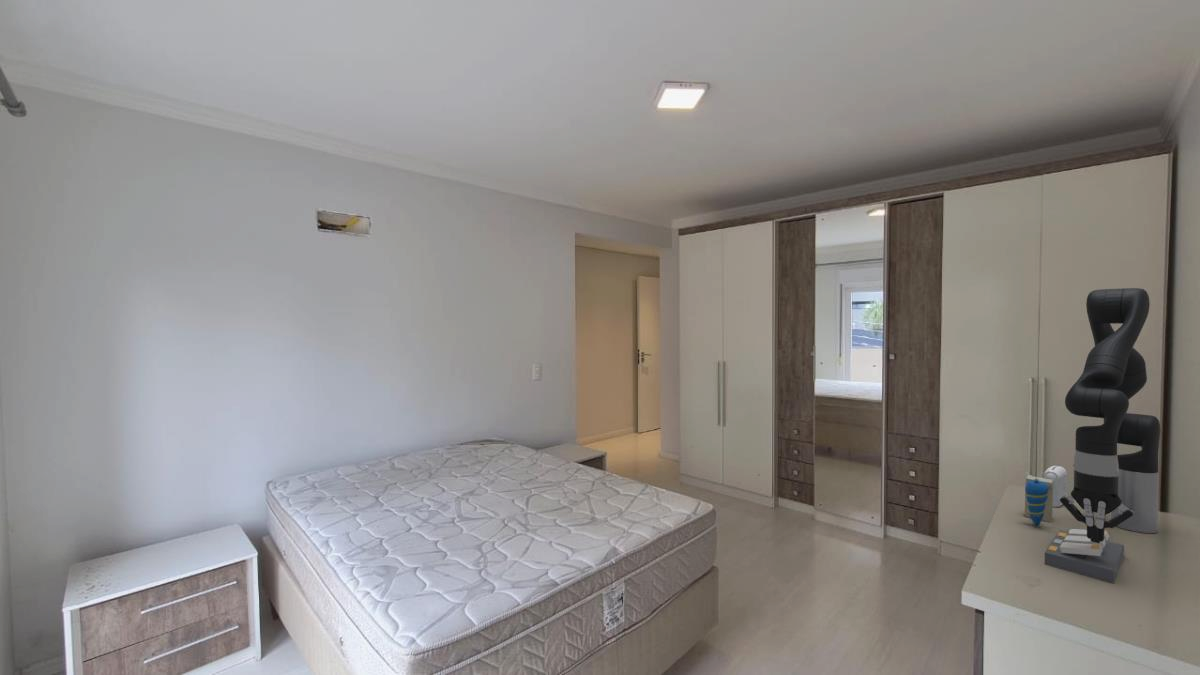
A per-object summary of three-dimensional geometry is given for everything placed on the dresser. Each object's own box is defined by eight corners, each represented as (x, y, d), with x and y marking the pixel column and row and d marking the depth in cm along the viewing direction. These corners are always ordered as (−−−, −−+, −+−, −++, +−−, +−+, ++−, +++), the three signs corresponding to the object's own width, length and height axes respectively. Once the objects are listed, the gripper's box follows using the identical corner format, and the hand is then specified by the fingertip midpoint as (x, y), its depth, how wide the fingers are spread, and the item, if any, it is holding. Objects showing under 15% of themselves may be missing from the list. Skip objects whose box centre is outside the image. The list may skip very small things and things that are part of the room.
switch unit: (1059, 540, 133) (1059, 527, 133) (1123, 556, 124) (1123, 542, 124) (1044, 564, 121) (1044, 549, 121) (1114, 583, 112) (1114, 567, 112)
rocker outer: (1064, 547, 123) (1062, 541, 123) (1102, 550, 117) (1100, 544, 117) (1061, 552, 120) (1059, 546, 120) (1100, 555, 115) (1098, 549, 115)
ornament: (1048, 526, 143) (1048, 476, 142) (1048, 532, 139) (1048, 480, 138) (1025, 521, 146) (1025, 472, 146) (1024, 527, 142) (1024, 476, 142)
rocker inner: (1072, 534, 130) (1070, 528, 130) (1109, 536, 125) (1107, 530, 125) (1069, 538, 127) (1068, 532, 128) (1107, 540, 122) (1104, 534, 122)
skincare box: (1024, 516, 150) (1024, 478, 149) (1026, 512, 153) (1026, 474, 152) (1052, 522, 145) (1052, 482, 145) (1053, 518, 148) (1053, 479, 148)
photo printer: (1051, 498, 164) (1051, 462, 164) (1068, 501, 161) (1068, 465, 161) (1041, 504, 159) (1041, 467, 158) (1059, 508, 155) (1059, 470, 155)
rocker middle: (1068, 540, 126) (1066, 534, 127) (1106, 543, 121) (1103, 536, 121) (1065, 545, 124) (1063, 539, 124) (1103, 548, 118) (1101, 541, 119)
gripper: (1138, 473, 113) (1137, 546, 114) (1061, 461, 124) (1060, 528, 124) (1135, 480, 109) (1134, 556, 109) (1055, 467, 119) (1055, 536, 119)
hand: (1095, 541), depth 117 cm, fingers closed
